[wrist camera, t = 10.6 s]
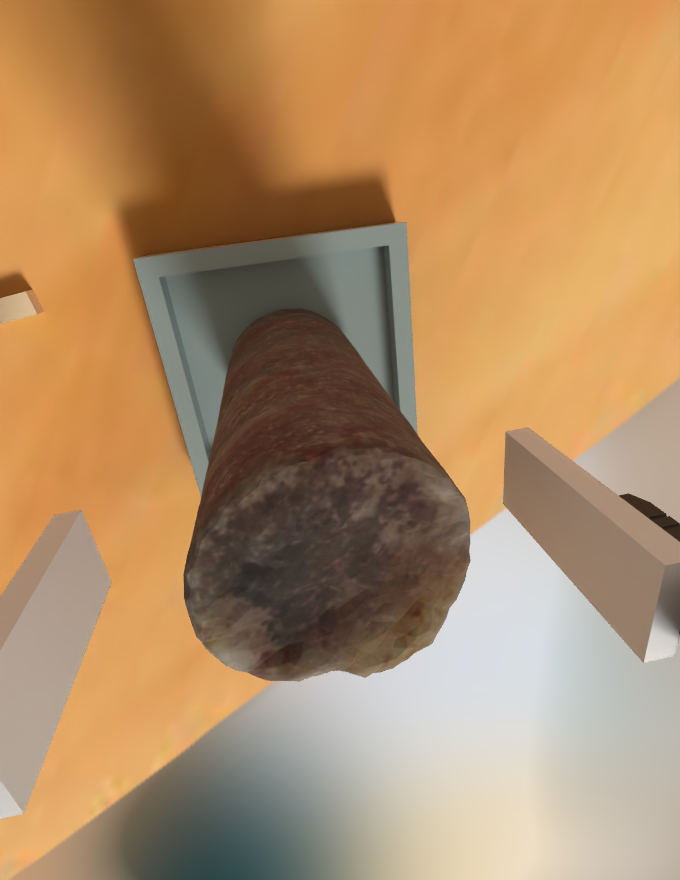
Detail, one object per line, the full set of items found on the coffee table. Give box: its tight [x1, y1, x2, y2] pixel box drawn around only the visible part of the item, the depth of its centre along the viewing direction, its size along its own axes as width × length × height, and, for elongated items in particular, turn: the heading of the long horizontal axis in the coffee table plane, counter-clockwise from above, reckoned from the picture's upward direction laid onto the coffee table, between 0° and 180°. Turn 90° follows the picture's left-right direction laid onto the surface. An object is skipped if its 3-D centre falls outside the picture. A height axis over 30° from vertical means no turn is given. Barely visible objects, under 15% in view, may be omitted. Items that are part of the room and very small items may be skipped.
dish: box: [133, 222, 417, 496], centre depth 29 cm, size 14×14×2 cm
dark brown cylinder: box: [184, 308, 470, 681], centre depth 20 cm, size 8×7×20 cm
